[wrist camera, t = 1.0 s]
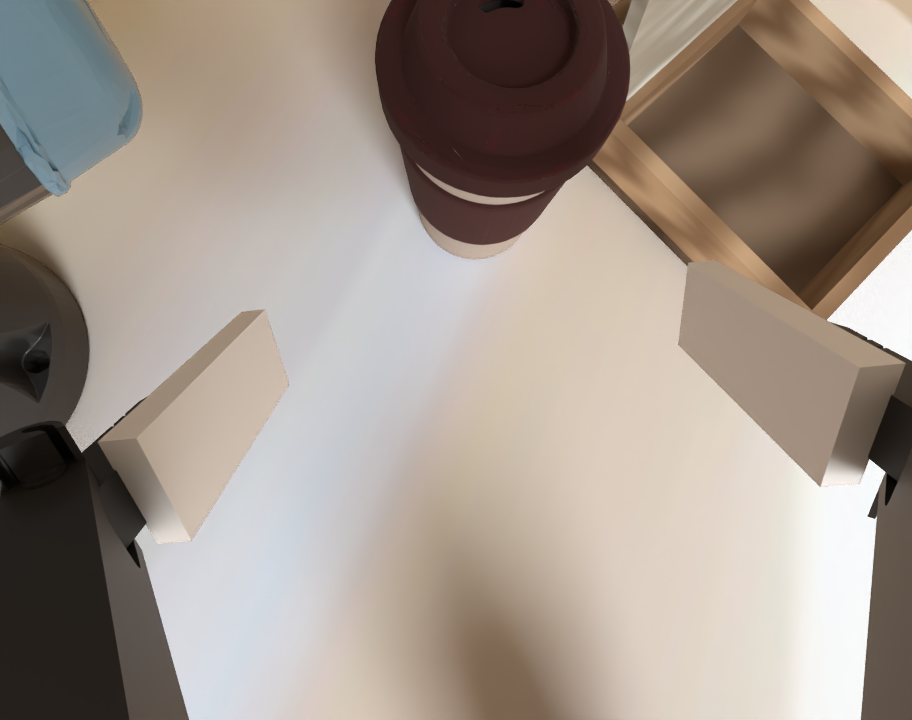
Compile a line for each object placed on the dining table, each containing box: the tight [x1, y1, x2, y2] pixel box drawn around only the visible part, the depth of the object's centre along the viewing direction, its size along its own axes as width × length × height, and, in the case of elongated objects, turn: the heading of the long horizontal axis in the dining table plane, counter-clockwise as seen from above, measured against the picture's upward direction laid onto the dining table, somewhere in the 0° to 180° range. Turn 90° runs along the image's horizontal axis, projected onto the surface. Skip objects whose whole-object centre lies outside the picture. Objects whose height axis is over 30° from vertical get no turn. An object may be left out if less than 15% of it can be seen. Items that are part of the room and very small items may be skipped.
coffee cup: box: [375, 0, 630, 259], centre depth 23 cm, size 10×10×15 cm
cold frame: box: [587, 0, 912, 320], centre depth 22 cm, size 24×16×22 cm, turn 43°
